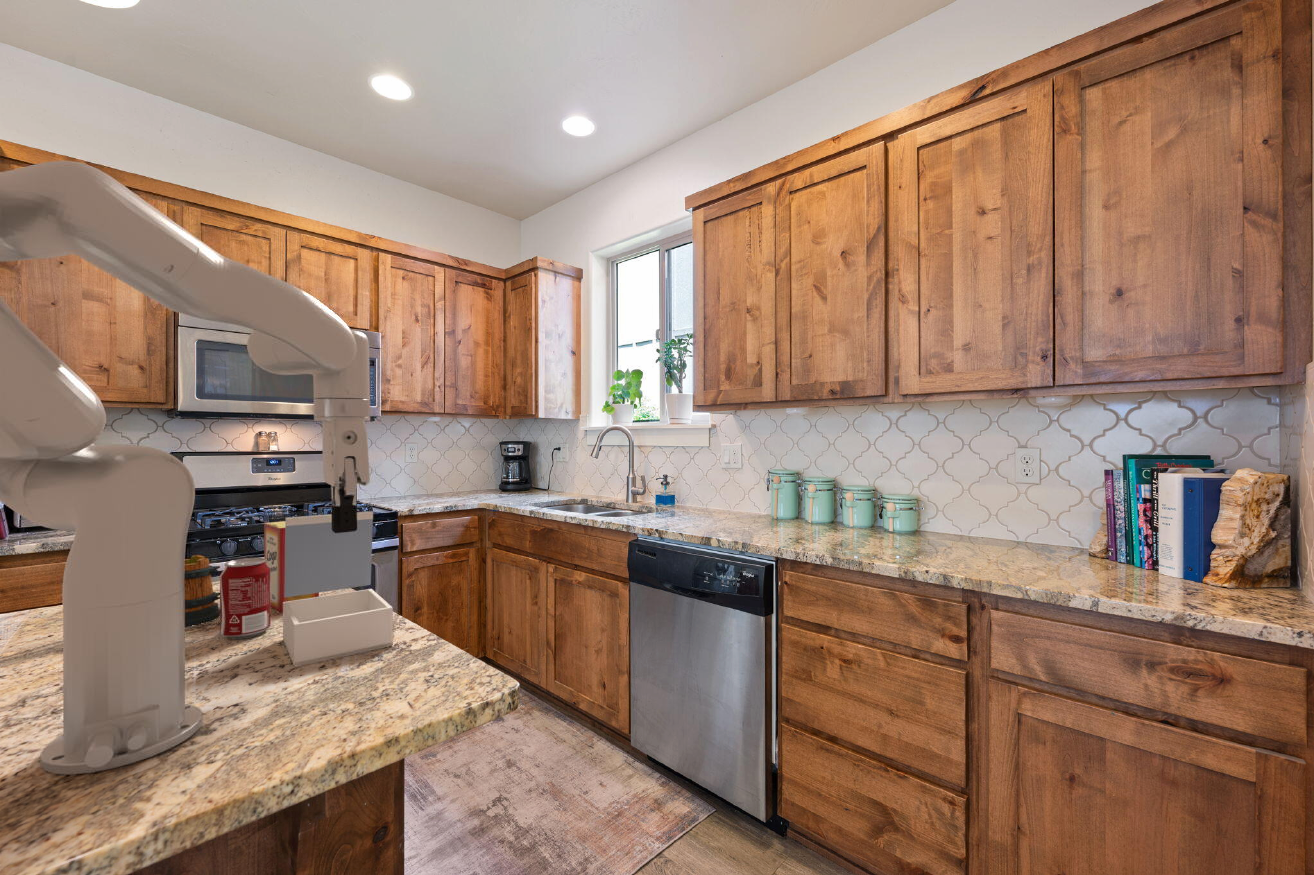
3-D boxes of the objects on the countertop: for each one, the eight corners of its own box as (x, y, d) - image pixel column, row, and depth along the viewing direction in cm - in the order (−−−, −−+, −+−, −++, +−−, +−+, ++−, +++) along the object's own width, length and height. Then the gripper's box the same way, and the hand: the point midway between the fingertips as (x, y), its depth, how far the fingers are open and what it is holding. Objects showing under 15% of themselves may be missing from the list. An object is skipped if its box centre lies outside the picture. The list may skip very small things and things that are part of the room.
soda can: (275, 633, 94) (275, 561, 94) (224, 644, 90) (224, 568, 90) (264, 624, 99) (264, 555, 99) (216, 634, 94) (215, 561, 94)
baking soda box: (264, 603, 112) (264, 521, 112) (301, 596, 117) (301, 517, 117) (279, 613, 105) (279, 526, 105) (318, 605, 110) (318, 522, 110)
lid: (373, 512, 98) (372, 511, 98) (285, 518, 90) (285, 517, 91) (370, 584, 99) (369, 583, 100) (284, 597, 92) (284, 596, 92)
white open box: (392, 646, 89) (392, 607, 89) (294, 667, 81) (294, 624, 81) (371, 623, 100) (371, 588, 100) (283, 639, 92) (283, 602, 92)
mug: (214, 607, 109) (214, 547, 109) (230, 618, 102) (230, 554, 102) (121, 625, 99) (121, 558, 99) (133, 638, 92) (133, 567, 92)
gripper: (381, 410, 84) (383, 535, 84) (359, 412, 95) (360, 522, 96) (322, 410, 79) (324, 542, 79) (306, 412, 91) (308, 527, 91)
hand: (344, 531), depth 88 cm, fingers closed
